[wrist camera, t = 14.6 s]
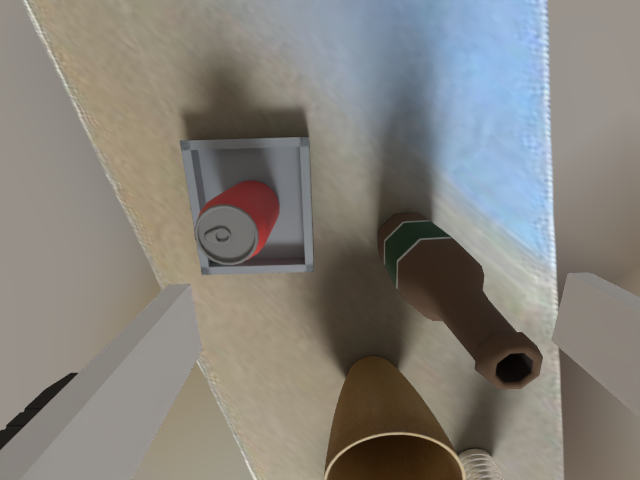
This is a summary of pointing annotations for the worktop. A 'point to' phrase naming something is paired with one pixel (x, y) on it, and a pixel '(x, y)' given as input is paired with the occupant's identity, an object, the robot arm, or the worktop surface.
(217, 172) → the tray
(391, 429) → the plant pot
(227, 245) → the beer can
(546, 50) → the worktop surface
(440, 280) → the beer bottle
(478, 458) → the water bottle
